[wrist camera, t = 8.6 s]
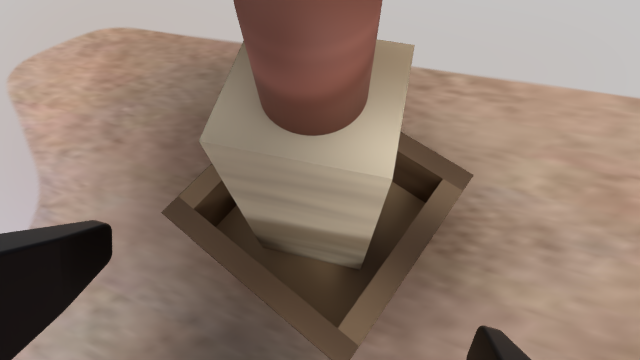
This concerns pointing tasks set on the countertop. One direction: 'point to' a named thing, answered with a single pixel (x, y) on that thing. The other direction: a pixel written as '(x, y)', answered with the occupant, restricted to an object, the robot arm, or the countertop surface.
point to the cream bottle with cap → (310, 125)
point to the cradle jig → (322, 277)
